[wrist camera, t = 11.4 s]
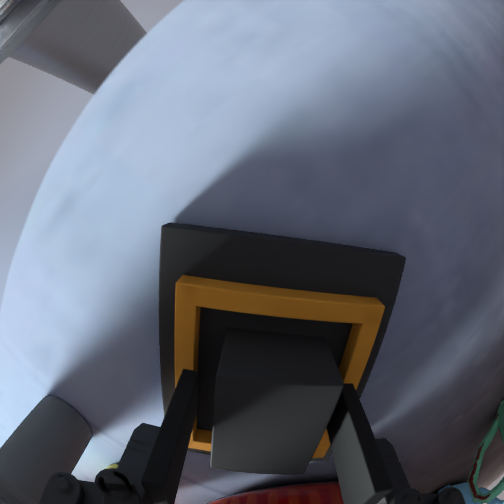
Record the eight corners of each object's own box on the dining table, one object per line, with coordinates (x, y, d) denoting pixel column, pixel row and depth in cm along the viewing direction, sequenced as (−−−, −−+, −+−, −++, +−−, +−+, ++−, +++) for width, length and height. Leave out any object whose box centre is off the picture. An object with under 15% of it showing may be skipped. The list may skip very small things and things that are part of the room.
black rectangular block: (227, 326, 14) (215, 375, 10) (325, 336, 14) (345, 384, 10) (218, 420, 15) (210, 468, 11) (297, 426, 15) (303, 474, 11)
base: (169, 222, 14) (151, 228, 11) (396, 252, 14) (418, 263, 11) (171, 436, 17) (163, 458, 15) (325, 450, 17) (330, 472, 15)
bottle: (104, 440, 18) (44, 560, 3) (68, 438, 19) (10, 534, 4) (65, 393, 17) (-23, 512, 2) (33, 395, 18) (-44, 488, 3)
